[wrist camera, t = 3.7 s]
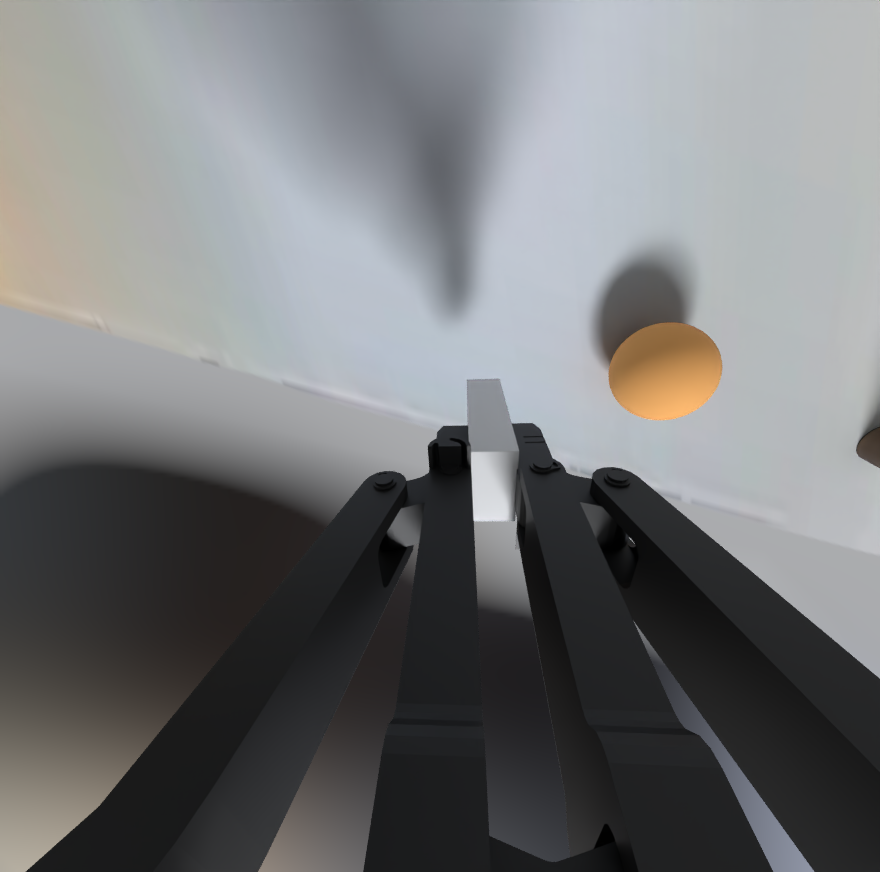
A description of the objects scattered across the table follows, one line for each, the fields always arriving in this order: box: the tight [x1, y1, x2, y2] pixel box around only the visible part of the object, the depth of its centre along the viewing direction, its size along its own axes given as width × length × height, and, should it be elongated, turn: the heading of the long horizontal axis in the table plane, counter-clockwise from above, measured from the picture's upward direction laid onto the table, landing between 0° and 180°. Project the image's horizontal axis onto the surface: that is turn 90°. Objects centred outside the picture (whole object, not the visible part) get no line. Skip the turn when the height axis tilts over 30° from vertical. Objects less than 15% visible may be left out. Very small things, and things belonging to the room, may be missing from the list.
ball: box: [609, 322, 722, 420], centre depth 19 cm, size 5×5×5 cm
